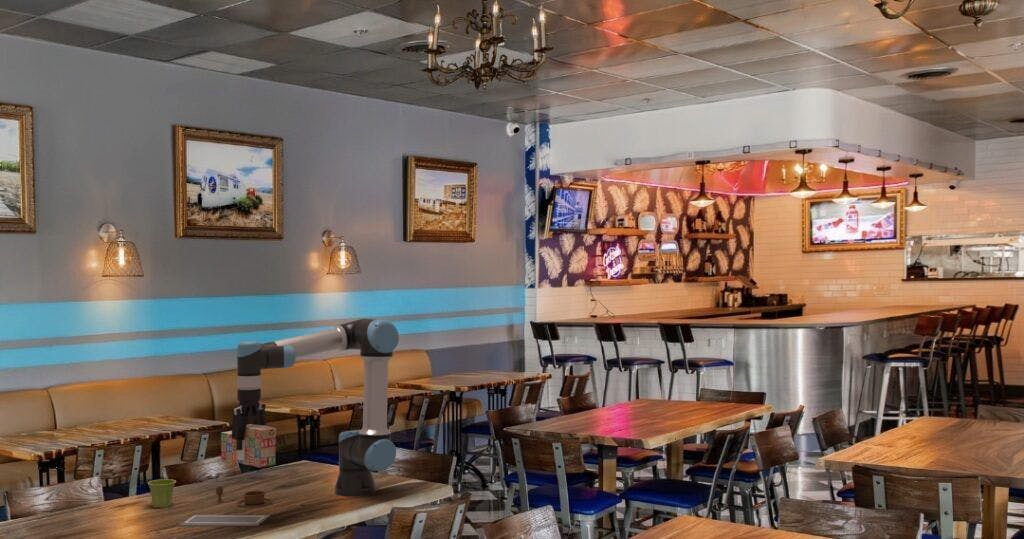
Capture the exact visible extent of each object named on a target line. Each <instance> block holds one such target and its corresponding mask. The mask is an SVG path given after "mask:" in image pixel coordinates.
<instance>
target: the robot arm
mask: <svg viewBox="0 0 1024 539" xmlns="http://www.w3.org/2000/svg"><path fill="white" fill-rule="evenodd" d="M399 341H400V335H399V331H398V329H397V327H396V326H395V325H394V324H393V323H392V322H391V321H389V320H385V319H380V318H377V319H375V318H373V319H372V318H359V319H356V320H353V321H349V322H345V323H342V324H341V323H340V324H337V325H335V326H334V328H331V329H326V330H322V331H316V332H312V333H307V334H302V335H298V336H292V337H288V338H282V339H278V340H273V341H269V342H264V343H261V341H257V340H254V341H253V340H252V341H251V340H250V341H249V340H248V341H247V340H246V341H240V342H238V344H237V348H236V358H237V360H236V361H237V363H236V365H237V367H236V369H237V370H236V371H237V373H236V374H237V390H236V391H237V396H236V399H237V401H238V402H239V404H238V407H236V408H233V407H232V410H231V411H232V424H231V425H232V426H231V431H232V439H234V440H236V441H237V460H245V440H243V439H244V435H245V430H246V426H247V425H248V421H249V420H250V422H251V424H255V425H265V426H267V421H266V404H265V403H260V400H261V399H262V390H261V387H262V375H261V374H262V370H271V369H274V370H276V369H286V368H287V369H288V368H291V367H293V366H294V365H295V363H296V359H298V358H301V357H309V356H312V355H316V354H320V353H325V352H329V351H330V352H331V351H334V350H339V351H341V352H342V351H346V350H348V351H349V350H359V351H360V354H359V355H360V356H359V357H360V358H361V359H362V360H363V362H364V364H363V365H364V366H363V367H364V368H363V370H364V371H363V404H362V405H363V406H362V407H363V408H362V409H363V410H362V411H363V413H362V428H361V429H354V430H353V429H352V430H348V431H347V430H346V431H341V432H339V435H338V466H339V467H338V469H339V471H338V475H337V479H336V482H335V486H334V494H335V495H337V496H339V497H340V496H341V497H362V496H367V495H368V496H369V495H372V494H374V493H376V492H377V486H376V483H375V479H374V477H373V476H374V475H373V473H372V472H374V471H375V472H382V471H386V470H387V469H389V468H390V467H391V465H393V463H394V462H395V459H396V458H397V448H396V445H395V444H394V443H393V441H391V440H392V438H391V437H392V432H391V431H390V430H389V429H388V395H389V394H388V390H389V389H388V387H389V385H388V384H389V379H388V378H389V361H390V360H391V359H392V358H394V357H393V354H394V352H393V351H394V350H395V349H396V347H397V346H398V344H399Z"/></svg>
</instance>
